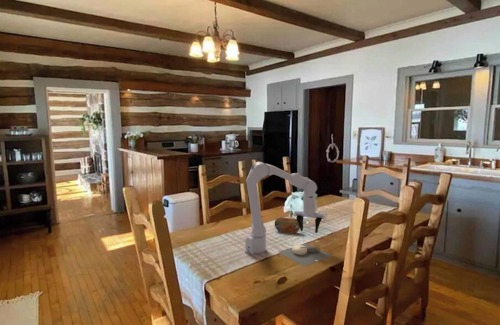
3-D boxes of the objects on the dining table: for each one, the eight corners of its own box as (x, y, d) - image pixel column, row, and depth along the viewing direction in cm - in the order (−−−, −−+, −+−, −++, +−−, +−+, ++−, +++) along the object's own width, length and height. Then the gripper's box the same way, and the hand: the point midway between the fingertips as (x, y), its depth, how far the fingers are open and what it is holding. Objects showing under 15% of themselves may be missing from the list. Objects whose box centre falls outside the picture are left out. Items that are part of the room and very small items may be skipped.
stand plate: (304, 269, 129) (304, 265, 129) (277, 254, 144) (277, 251, 144) (333, 258, 139) (333, 255, 138) (305, 246, 154) (305, 242, 154)
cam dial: (293, 255, 139) (293, 245, 138) (290, 249, 146) (290, 239, 145) (321, 254, 140) (322, 244, 139) (317, 248, 147) (317, 238, 146)
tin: (274, 230, 177) (274, 216, 176) (276, 229, 180) (276, 215, 179) (299, 234, 170) (299, 220, 169) (300, 232, 173) (300, 218, 172)
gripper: (292, 205, 146) (292, 232, 148) (322, 207, 140) (322, 236, 141) (296, 201, 152) (296, 227, 154) (325, 204, 146) (325, 231, 148)
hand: (309, 231), depth 148 cm, fingers open, 7 cm apart
